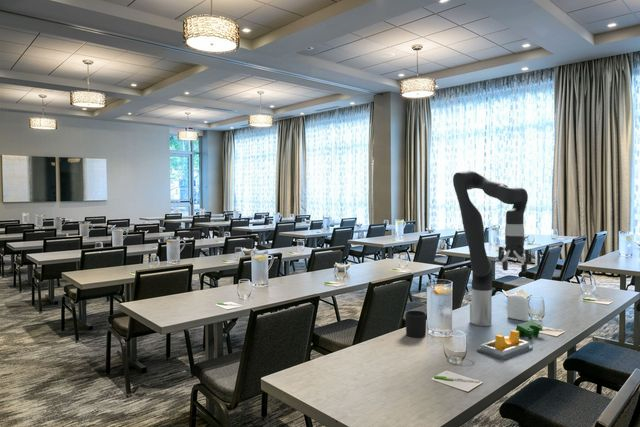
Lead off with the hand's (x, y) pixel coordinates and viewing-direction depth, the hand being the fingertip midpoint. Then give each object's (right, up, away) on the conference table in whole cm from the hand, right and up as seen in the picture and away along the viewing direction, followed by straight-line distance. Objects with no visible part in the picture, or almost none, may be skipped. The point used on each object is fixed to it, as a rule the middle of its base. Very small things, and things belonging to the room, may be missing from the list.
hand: (514, 271), depth 197 cm
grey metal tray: (-8, -31, -10) cm, 34 cm away
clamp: (+9, -30, +7) cm, 32 cm away
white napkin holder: (+16, -28, +34) cm, 47 cm away
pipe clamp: (-8, -30, -11) cm, 33 cm away
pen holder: (-40, -31, +12) cm, 52 cm away
